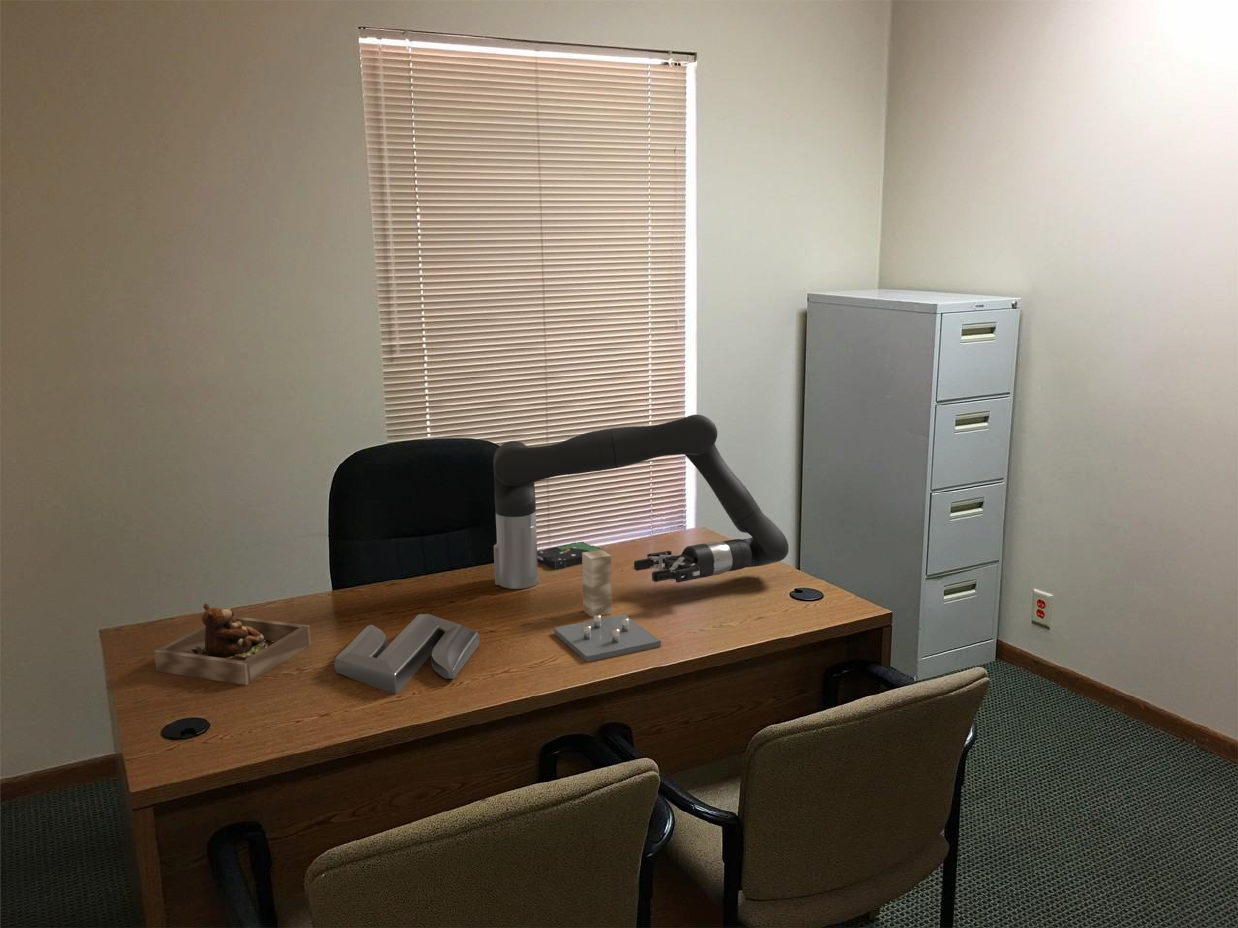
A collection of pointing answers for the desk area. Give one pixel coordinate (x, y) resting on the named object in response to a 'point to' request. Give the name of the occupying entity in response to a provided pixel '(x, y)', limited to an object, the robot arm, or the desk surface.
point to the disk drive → (564, 555)
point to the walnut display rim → (185, 663)
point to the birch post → (597, 582)
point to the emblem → (407, 652)
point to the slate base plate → (606, 637)
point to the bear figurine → (228, 636)
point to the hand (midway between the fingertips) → (643, 571)
